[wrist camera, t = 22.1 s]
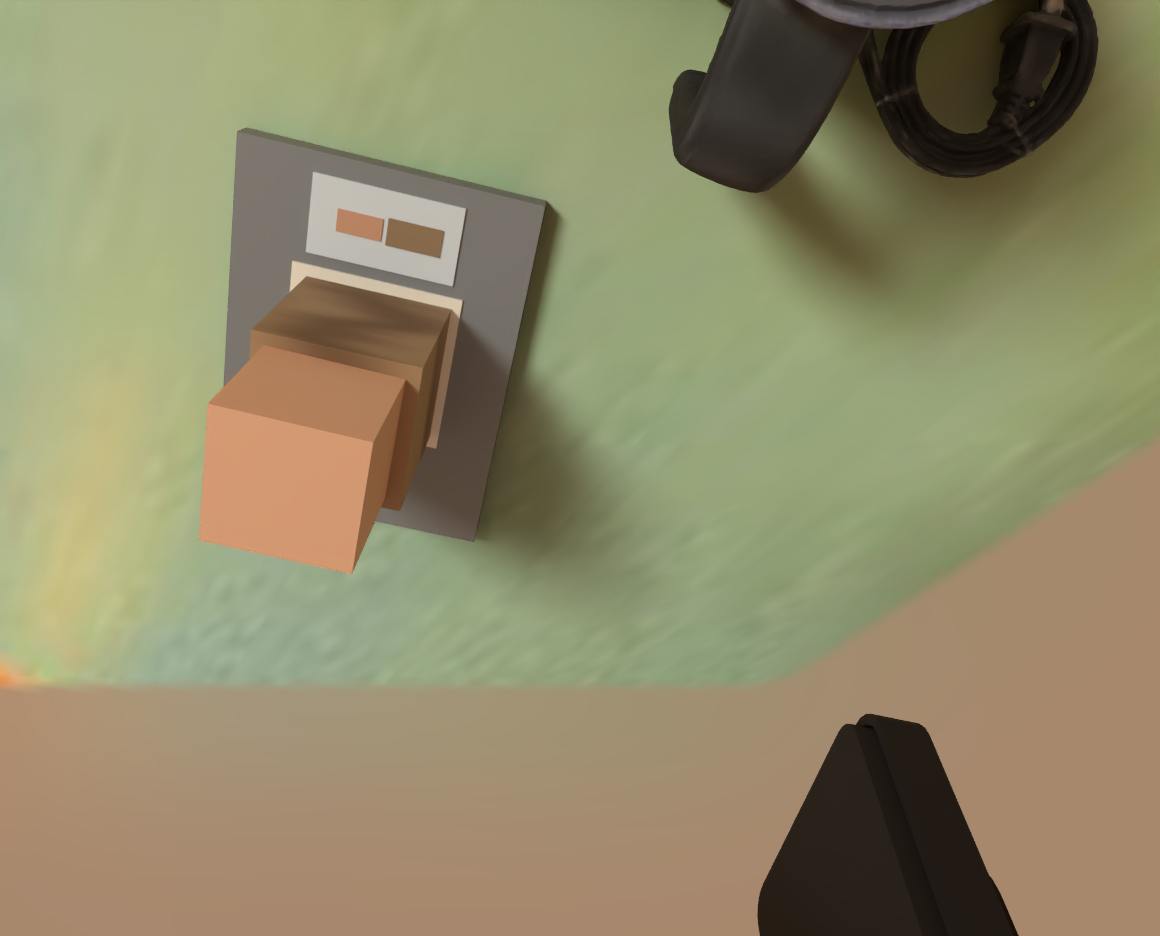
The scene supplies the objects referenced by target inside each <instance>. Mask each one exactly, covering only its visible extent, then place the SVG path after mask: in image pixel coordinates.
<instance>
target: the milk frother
mask: <svg viewBox="0 0 1160 936" xmlns="http://www.w3.org/2000/svg"><path fill="white" fill-rule="evenodd" d="M722 1H724V2H726V3H728V4H729V5H731V6H733V7H732V9H731V12H730V14H729V17H728V19H727V22H726V25H725V28H724V31H723V34H722V35H721V37H720V38H719V42H718V45H717V48H716V51H715V54H714V56H713V59H712V61H711V63H710V65H709V68H708V71H707V73H705V72H701V71H696V70H686V71H684V72H682V73H681V74H680V75H679V77H678V78H677V79H676V81H675V83H674V85H673V93H672V96H671V100H670V105H669V118H670V126H671V135H672V144H673V151H674V156H675V158H676V159H677V161H678V162H679V163H680V164H681V165H682V166H684V167H685V168H687V169H689V170H690V171H692V172H694V173H696V174H698V175H700V176H702V177H705V178H707V179H709V180H712V181H714V182H716V183H719V184H722V185H725V186H728V187H731V188H734V189H738V190H741V191H747V192H753V193H758V192H763V191H766V190H769V189H770V188H771V187H773V186H774V185H775V184H777V183H778V182H779V181H780V180H781V179H783V178H784V177H785V176H786V175H787V173H788V172H789V171H790V170H791V169H792V168H793V167H794V166H795V164H796V163H797V162H798V161H799V159H800V158H801V157H802V155H803V154H804V152H805V151H806V150H807V148H808V147H809V145H810V143H811V142H812V140H813V139H814V137H815V136H816V134H817V132H818V131H819V129H820V127H821V126H822V124H823V122H824V121H825V119H826V117H827V116H828V114H829V112H830V110H831V108H832V106H833V104H834V102H835V100H836V99H837V97H838V95H839V93H840V91H841V89H842V87H843V85H844V83H845V81H846V79H847V77H848V75H849V73H850V71H851V69H852V67H853V65H854V63H855V61H856V59H857V58H858V57H859V61H860V64H861V66H862V69H863V72H864V75H865V78H866V81H867V84H868V87H869V90H870V92H871V95H872V98H873V100H874V103H875V105H876V108H877V110H878V112H879V115H880V117H881V119H882V121H883V123H884V126H885V128H886V129H887V131H888V133H889V135H890V137H891V139H892V141H893V142H894V144H895V145H896V146H897V148H898V149H899V150H900V151H901V152H902V153H903V154H904V155H905V156H906V157H907V158H909V159H910V160H911V161H912V162H914V163H915V164H916V165H918V166H920V167H921V168H923V169H925V170H927V171H930V172H932V173H935V174H938V175H942V176H947V177H956V178H968V177H976V176H980V175H984V174H986V173H989V172H992V171H995V170H998V169H1000V168H1002V167H1004V166H1007V165H1009V164H1011V163H1013V162H1015V161H1017V160H1018V159H1020V158H1022V157H1025V156H1028V155H1031V154H1032V152H1034V151H1035V150H1036V149H1037V148H1038V147H1039V146H1040V145H1042V144H1043V143H1044V142H1045V141H1047V140H1048V139H1049V138H1050V137H1051V136H1052V135H1054V134H1055V133H1056V132H1057V131H1058V130H1059V129H1060V128H1061V127H1062V126H1063V125H1064V124H1065V123H1066V122H1067V121H1068V120H1069V119H1070V118H1071V116H1072V115H1073V113H1074V112H1075V110H1076V109H1077V107H1078V106H1079V104H1080V103H1081V102H1082V99H1083V98H1084V96H1085V94H1086V92H1087V90H1088V87H1089V84H1090V82H1091V80H1092V77H1093V73H1094V69H1095V65H1096V58H1097V51H1098V36H1097V27H1096V23H1095V20H1094V18H1093V13H1092V10H1091V8H1090V6H1089V3H1088V1H1087V0H1038V9H1039V12H1032V11H1029V12H1026V13H1024V14H1023V15H1021V16H1020V17H1019V19H1018V20H1016V21H1015V22H1014V23H1012V24H1011V25H1010V26H1008V27H1007V28H1006V29H1005V30H1004V31H1003V32H1002V35H1001V37H1000V42H1001V43H1003V44H1005V50H1004V53H1003V57H1002V60H1001V64H1000V72H999V83H998V86H996V87H995V88H994V89H993V92H992V94H993V96H994V98H995V99H996V100H997V104H996V106H995V108H994V110H993V112H992V115H991V116H990V118H989V119H988V121H987V125H988V127H987V128H986V129H984V130H983V131H981V132H979V133H970V134H960V133H955V132H953V131H950V130H948V129H947V128H945V127H943V126H942V125H940V124H939V123H938V122H937V121H936V120H935V119H934V118H933V117H932V116H931V115H930V114H929V112H928V111H927V110H926V108H925V107H924V105H923V103H922V101H921V98H920V96H919V93H918V89H917V83H916V62H917V58H918V55H919V52H920V48H921V46H922V44H923V42H924V40H925V38H926V36H927V34H928V33H929V31H930V29H931V28H932V27H933V26H934V24H937V23H941V22H944V21H947V20H951V19H954V18H956V17H958V16H960V15H962V14H965V13H967V12H970V11H972V10H974V9H976V8H978V7H980V6H983V5H985V4H988V3H990V2H991V1H993V0H722ZM872 28H873V29H893V30H892V32H891V34H890V36H889V39H888V42H887V44H886V48H885V53H884V57H883V61H880V59H879V56H878V51H877V47H876V43H875V39H874V34H873V29H872ZM1059 49H1060V51H1061V57H1060V61H1059V65H1058V67H1057V70H1056V72H1055V74H1054V76H1053V78H1052V80H1051V82H1050V84H1049V85H1048V87H1047V89H1046V91H1045V93H1044V95H1043V92H1044V90H1043V87H1042V82H1043V80H1044V79H1045V77H1046V75H1047V74H1048V72H1049V70H1050V68H1051V67H1052V65H1053V63H1054V61H1055V59H1056V56H1057V54H1058V52H1059ZM1042 95H1043V97H1042ZM1040 97H1042V98H1040ZM1032 101H1035V105H1034V106H1033V107H1030V106H1029V104H1030V102H1032Z"/></svg>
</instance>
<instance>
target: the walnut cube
mask: <svg viewBox="0 0 1160 936" xmlns="http://www.w3.org/2000/svg"><path fill="white" fill-rule="evenodd" d="M451 310H452V309H448V308H444V307H439V306H435V305H430V304H426V303H422V302H417V301H413V300H409V299H404V298H400V297H396V296H391V295H387V294H383V293H378V292H374V291H369V290H365V289H361V288H356V287H352V286H348V285H343V284H339V283H335V282H330V281H326V280H321V279H317V278H313V277H308V276H306V277H305V278H304V279H303V280H302V281H301V282H300V283H299V284H298V285H297V286H296V287H295V288H294V289H293V290H291V291H290V292H289V293H288V294H287V295H286V296H285V297H284V298H283V299H282V300H281V301H280V302H279V303H278V304H277V305H276V306H275V307H274V308H273V309H272V310H271V311H270V312H269V313H268V314H267V315H266V316H265V317H264V318H262V319H261V320H260V321H259V322H258V323H257V324H256V325H255V326H254V327H253V328H252V329H251V339H250V354H249V360H250V359H251V358H252V357H253V356H254V355H255V354H256V353H257V352H258V351H259V350H260V349H261V348H262V347H263V345H265V346H269V347H274V348H278V349H282V350H286V351H290V352H294V353H298V354H303V355H307V356H311V357H315V358H319V359H323V360H327V361H332V362H336V363H340V364H344V365H348V366H352V367H356V368H360V369H365V370H369V371H373V372H377V373H381V374H385V375H389V376H394V377H398V378H402V379H406V381H405V387H404V392H403V398H402V404H401V410H400V415H399V421H398V427H397V432H396V438H395V444H394V450H393V455H392V461H391V467H390V472H389V478H388V484H387V490H386V495H385V499H384V502H383V504H382V506H381V507H382V508H387V509H392V510H396V511H400V510H401V508H402V505H403V503H404V500H405V498H406V495H407V493H408V490H409V488H410V485H411V483H412V480H413V478H414V475H415V473H416V470H417V468H418V465H419V463H420V460H421V458H422V455H423V452H424V450H425V447H426V445H427V442H428V440H429V437H430V433H431V427H432V421H433V415H434V409H435V404H436V398H437V392H438V386H439V380H440V374H441V368H442V363H443V357H444V351H445V345H446V339H447V333H448V327H449V321H450V316H451Z"/></svg>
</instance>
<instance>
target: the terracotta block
mask: <svg viewBox="0 0 1160 936" xmlns="http://www.w3.org/2000/svg"><path fill="white" fill-rule="evenodd" d="M405 381H406V379H402V378H398V377H394V376H389V375H385V374H381V373H377V372H373V371H369V370H365V369H360V368H356V367H352V366H348V365H344V364H340V363H336V362H332V361H327V360H323V359H319V358H315V357H311V356H307V355H303V354H298V353H294V352H290V351H286V350H282V349H278V348H274V347H269V346H265V345H263V347H262V348H261V349H260V350H259V351H258V352H257V353H256V354H255V355H254V356H253V357H252V358H251V359H250V360H249V361H248V362H247V363H246V364H245V365H244V366H243V367H242V369H241V370H240V371H239V372H238V373H237V374H236V375H235V376H234V377H233V378H232V379H231V380H230V381H229V382H228V383H227V384H226V385H225V386H224V387H223V388H222V389H221V390H220V392H219V393H218V394H217V395H216V396H215V397H214V398H213V399H212V400H211V401H210V402H209V403H208V410H207V425H206V441H205V456H204V472H203V487H202V503H201V518H200V534H199V540H201V541H205V542H210V543H214V544H219V545H223V546H228V547H232V548H237V549H241V550H246V551H250V552H255V553H259V554H264V555H269V556H273V557H278V558H282V559H287V560H291V561H296V562H300V563H305V564H309V565H314V566H318V567H323V568H327V569H332V570H336V571H341V572H345V573H350V574H352V573H353V570H354V568H355V566H356V563H357V561H358V559H359V557H360V554H361V552H362V550H363V547H364V545H365V543H366V541H367V538H368V536H369V534H370V531H371V529H372V527H373V525H374V522H375V520H376V518H377V515H378V513H379V511H380V509H381V506H382V504H383V502H384V499H385V495H386V490H387V484H388V478H389V472H390V467H391V461H392V455H393V450H394V444H395V438H396V432H397V427H398V421H399V415H400V410H401V404H402V398H403V392H404V387H405Z"/></svg>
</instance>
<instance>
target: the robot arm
mask: <svg viewBox="0 0 1160 936" xmlns="http://www.w3.org/2000/svg"><path fill="white" fill-rule="evenodd" d="M758 926H759V932H760V936H1018V934H1017V931H1016V929H1015V926H1014V924H1013V922H1012V920H1011V917H1010V915H1009V913H1008V910H1007V908H1006V905H1005V903H1004V901H1003V898H1002V896H1001V894H1000V892H999V890H998V888H997V887H996V885H995V883H994V881H993V880H992V878H991V877H990V876H989V874H988V872H987V870H986V867H985V865H984V863H983V860H982V858H981V856H980V853H979V851H978V848H977V846H976V844H975V841H974V839H973V837H972V834H971V832H970V829H969V828H968V825H967V822H966V820H965V818H964V815H963V813H962V811H961V808H960V806H959V804H958V801H957V799H956V797H955V794H954V792H953V789H952V787H951V785H950V782H949V780H948V778H947V775H946V773H945V771H944V768H943V766H942V763H941V761H940V759H939V756H938V754H937V752H936V749H935V747H934V744H933V742H932V740H931V737H930V735H929V733H928V732H927V730H926V729H925V728H924V727H923V726H922V725H920V724H918V723H913V722H909V721H903V720H899V719H894V718H889V717H883V716H879V715H874V714H865V715H864V716H862V717H861V718H860V719H859V721H858V722H857V724H856V725H853V724H845V725H844V726H843V727H842V728H841V729H840V731H839V732H838V734H837V736H836V739H835V740H834V743H833V744H832V746H831V748H830V751H829V752H828V754H827V756H826V759H825V760H824V762H823V765H822V767H821V769H820V771H819V773H818V775H817V777H816V779H815V781H814V783H813V785H812V787H811V789H810V791H809V793H808V795H807V797H806V799H805V801H804V803H803V805H802V807H801V809H800V811H799V813H798V815H797V817H796V819H795V821H794V823H793V825H792V827H791V829H790V831H789V833H788V835H787V837H786V839H785V841H784V843H783V845H782V847H781V849H780V851H779V853H778V855H777V857H776V859H775V862H774V863H773V865H772V867H771V870H770V871H769V874H768V875H767V878H766V879H765V881H764V883H763V886H762V888H761V892H760V896H759V902H758Z"/></svg>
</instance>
